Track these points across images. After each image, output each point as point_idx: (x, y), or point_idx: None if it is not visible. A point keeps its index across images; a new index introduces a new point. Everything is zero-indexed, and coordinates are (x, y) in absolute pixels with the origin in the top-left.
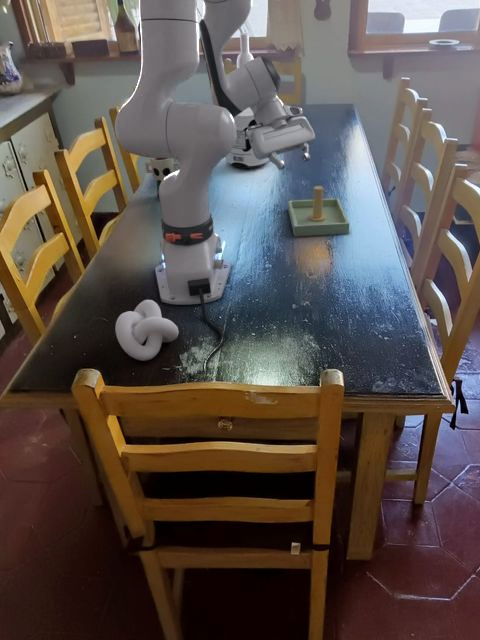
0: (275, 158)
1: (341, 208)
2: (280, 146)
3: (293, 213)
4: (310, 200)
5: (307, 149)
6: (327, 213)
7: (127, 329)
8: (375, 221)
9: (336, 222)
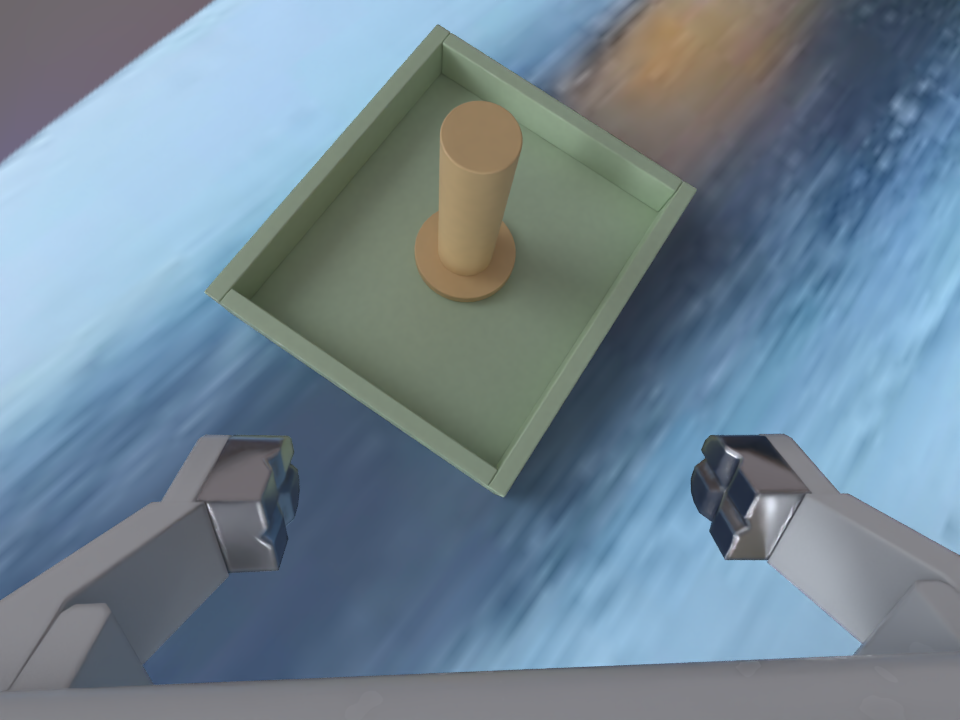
0: (927, 538)
1: (323, 169)
2: (918, 703)
3: (602, 315)
4: (381, 391)
5: (117, 548)
6: (374, 259)
7: None
8: (227, 64)
9: (422, 150)
